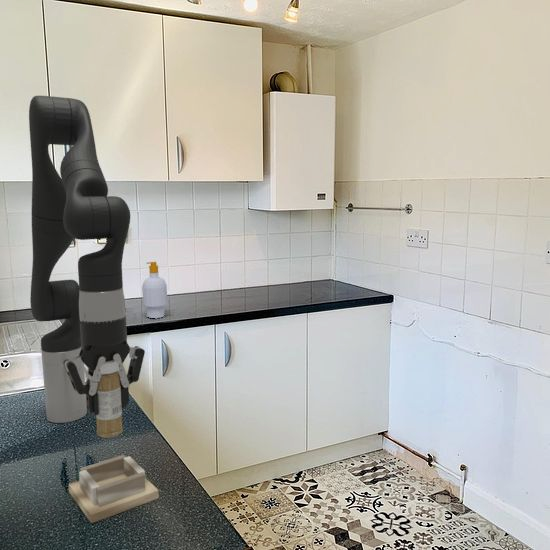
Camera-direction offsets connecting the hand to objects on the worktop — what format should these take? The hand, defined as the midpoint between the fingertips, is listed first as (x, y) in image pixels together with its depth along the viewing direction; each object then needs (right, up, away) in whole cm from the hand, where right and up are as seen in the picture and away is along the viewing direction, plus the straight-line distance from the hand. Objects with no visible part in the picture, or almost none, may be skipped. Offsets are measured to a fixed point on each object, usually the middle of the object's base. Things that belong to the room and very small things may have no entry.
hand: (108, 409), depth 95 cm
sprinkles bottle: (0, -4, +1) cm, 4 cm away
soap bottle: (-22, +5, +139) cm, 141 cm away
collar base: (0, -16, +2) cm, 16 cm away
